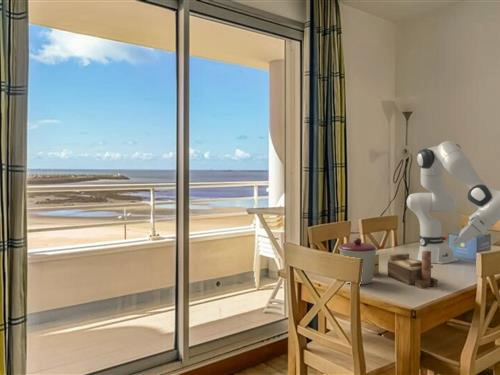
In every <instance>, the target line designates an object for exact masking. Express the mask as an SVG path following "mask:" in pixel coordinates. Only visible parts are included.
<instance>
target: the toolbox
mask: <svg viewBox="0 0 500 375" xmlns="http://www.w3.org/2000/svg"><path fill="white" fill-rule="evenodd" d="M387 277H388V278H390V279H393V280H396V281H398V282H401V283H403V284H405V285H407V286H412V285H414V287H416V288H419V289H425V288H426V287H425V281H422V269H419V270H409V269H407V268H404V267H401V266H398V265H395V264H392V263H389V262H388V261H387ZM438 282H439V279H437V278H434V277H431V287H434V288H435V287H438V286H439V285H438V284H439V283H438Z"/></svg>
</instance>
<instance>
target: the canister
mask: <svg viewBox="0 0 500 375" xmlns="http://www.w3.org/2000/svg"><path fill="white" fill-rule="evenodd" d="M337 249H338V250H339V256H340V255H344V256H349V257H355V258H361V259H363V272H362V281H361V285H362V286H363V285H368V284H370V283H371V282H372V281H373V278H374V275H373V273H374V266H375V257H376V254H377V251H378V247H377V246H375V245H373V244H371V243H365V242H362V239H361V238H359V237H356V238H354V239H353V242H346V243H343V244H341V245H339V246H338V248H337ZM361 285H360V286H361Z"/></svg>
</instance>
